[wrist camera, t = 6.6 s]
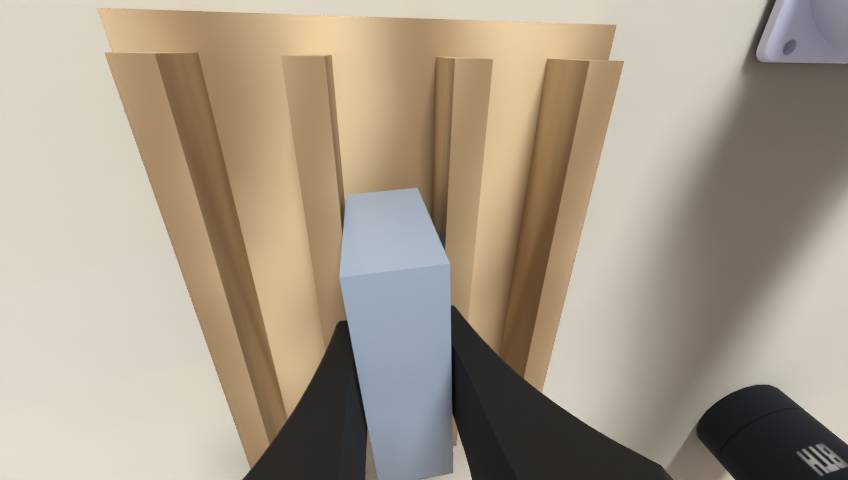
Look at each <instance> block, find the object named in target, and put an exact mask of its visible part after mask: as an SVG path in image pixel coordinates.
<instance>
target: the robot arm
mask: <svg viewBox="0 0 848 480" xmlns="http://www.w3.org/2000/svg"><path fill="white" fill-rule="evenodd" d="M784 46H785V48H784ZM783 48H784V50H783ZM756 55H757V59H758V60H759V61H761V62H786V63H843V64H848V0H776V2H775V4H774V7H773V9H772V12H771V14H770V17H769V19H768V22H767V24H766V27H765V29H764V32H763V35H762V37H761V40H760V42H759V45H758V47H757V51H756ZM451 363H452V414H453V417H454V420H455V423H456V426H457V429H458V432H459V435H460V438H461V442H462V445H463V448H464V451H465V454H466V458H467V461H468V465H469V468H470V473H471V477H472V480H673V479H672V478H671V477H670V476H669V475H668V473H667V472H666V471H665V470H664V468H663V467H662V466H661V465H659V464H657V463H655V462H653V461H652V460H650V459H648V458H646V457H644V456H642V455H640V454H638V453H636V452H634V451H632V450H631V449H629V448H627V447H625V446H623V445H621V444H619V443H617V442H615V441H614V440H612V439H610V438H608V437H607V436H605V435H603V434H602V433H600V432H598V431H597V430H595V429H593V428H592V427H590V426H588V425H587V424H585V423H584V422H582V421H581V420H579V419H578V418H576V417H575V416H573V415H572V414H570V413H569V412H567V411H566V410H564V409H563V408H561V407H560V406H558V405H557V404H556V403H554V402H553V401H552V400H550V399H549V398H548V397H546V396H545V395H544V394H542V393H541V392H540V391H538V390H537V389H536V388H535V387H533V386H532V385H531V384H530V383H528V382H527V381H526V380H525V379H524V378H522V377H521V376H520V375H519V374H518V373H517V372H516V371H514V370H513V369H512V368H511V367H510V366H509V365H508V364H507V363H506V362H505V361H504V360H503V359H502V358H501V357H500V356H499V355H498V354H497V353H495V352H494V350H493V349H492V348H491V347H490V346H489V345H488V344H487V343H486V342H485V341H484V340H483V339H482V338H481V337H480V336H479V335H478V333H477V332H476V331H475V330H474V329H473V328H472V327H471V325H470V324H469V323H468V322H467V321H466V319H465V318H464V317H463V316H462V314H461V313H460V312H459V310H458V309H457V308H456V307H455V306H454V305H451ZM366 443H367V421H366V416H365V411H364V405H363V400H362V395H361V390H360V384H359V379H358V374H357V369H356V363H355V358H354V353H353V347H352V342H351V337H350V332H349V326H348V321H347V320H344V321H339V322H338V323H337V324H336V327H335V330H334V333H333V335H332V338H331V340H330V343H329V345H328V347H327V349H326V352H325V354H324V356H323V358H322V360H321V362H320V364H319V366H318V368H317V370H316V372H315V374H314V376H313V378H312V380H311V381H310V383H309V385H308V387H307V388H306V390H305V392H304V394H303V395H302V397H301V399H300V400H299V402H298V404H297V405H296V407H295V409H294V410H293V412H292V413H291V415H290V416H289V418H288V420H287V421H286V423H285V424H284V425H283V427H282V428H281V430H280V431H279V433H278V434H277V436H276V437H275V438H274V440H273V441H272V442H271V444H270V445H269V446H268V448H267V449H266V450H265V452H264V453H263V455H262V456H261V457H260V459H259V460H258V461H257V462H256V464H255V465H254V466H253V467H252V469H251V470H250V471H249V472H248V474H247V475H246V476H245V477H244V479H243V480H365V464H366Z"/></svg>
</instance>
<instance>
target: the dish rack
mask: <svg viewBox="0 0 848 480" xmlns="http://www.w3.org/2000/svg"><path fill="white" fill-rule="evenodd" d="M97 10H98V13H99V15H100V18H101V21H102V24H103V27H104V30H105V33H106V36H107V39H108V42H109V45H110V48H111V50H112V53H105V55H106V58H107V61H108V64H109V67H110V70H111V73H112V75H113V78H114V81H115V84H116V87H117V90H118V92H119V95H120V98H121V101H122V104H123V107H124V110H125V112H126V115H127V118H128V121H129V124H130V127H131V129H132V132H133V135H134V138H135V141H136V144H137V147H138V149H139V152H140V155H141V158H142V161H143V164H144V166H145V169H146V172H147V175H148V178H149V181H150V184H151V186H152V189H153V192H154V195H155V198H156V201H157V203H158V206H159V209H160V212H161V215H162V218H163V221H164V223H165V226H166V229H167V232H168V235H169V238H170V240H171V243H172V246H173V249H174V252H175V255H176V257H177V260H178V263H179V266H180V269H181V272H182V275H183V277H184V280H185V283H186V286H187V289H188V292H189V294H190V297H191V300H192V303H193V306H194V309H195V312H196V314H197V317H198V320H199V323H200V326H201V329H202V331H203V334H204V337H205V340H206V343H207V346H208V349H209V351H210V354H211V357H212V360H213V363H214V366H215V368H216V371H217V374H218V377H219V380H220V383H221V386H222V388H223V391H224V394H225V397H226V400H227V403H228V405H229V408H230V411H231V414H232V417H233V420H234V423H235V425H236V428H237V431H238V434H239V437H240V440H241V442H242V445H243V448H244V451H245V454H246V457H247V460H248V462H249V465H250V468H251V469H252V467H253V466H254V465H255V464H256V462H257V461H258V460H259V459H260V457H261V456H262V455H263V453H264V452H265V450H266V449H267V448H268V446H269V445H270V444H271V442H272V441H273V440H274V438H275V437H276V436H277V434H278V433H279V431H280V430H281V428H282V427H283V425H284V424H285V423H286V421H287V420H288V418H289V416H290V415H291V413H292V412H293V410H294V409H295V407H296V405H297V404H298V402H299V400H300V399H301V397H302V395H303V394H304V392H305V390H306V388H307V387H308V385H309V383H310V381H311V380H312V378H313V376H314V374H315V372H316V370H317V368H318V366H319V364H320V362H321V360H322V358H323V356H324V354H325V352H326V349H327V347H328V345H329V343H330V340H331V338H332V335H333V333H334V330H335V327H336V324H337V323H338V322H339V321H344V320H347V316H346V311H345V305H344V300H343V295H342V290H341V284H340V279H339V274H340V262H341V251H342V239H343V227H344V215H345V204H346V195H349V194H359V193H369V192H379V191H389V190H399V189H409V188H418V190H419V192H420V195H421V197H422V199H423V202H424V204H425V206H426V209H427V211H428V213H429V216H430V218H431V220H432V223H433V225H434V227H435V230H436V232H437V234H438V237H439V239H440V241H441V244H442V246H443V248H444V251H445V253H446V255H447V258H448V260H449V262H450V296H451V305H454V306H455V307H456V308H457V309H458V310H459V312H460V313H461V314H462V316H463V317H464V318H465V319H466V321H467V322H468V323H469V324H470V325H471V327H472V328H473V329H474V330H475V331H476V332H477V333H478V335H479V336H480V337H481V338H482V339H483V340H484V341H485V342H486V343H487V344H488V345H489V346H490V347H491V348H492V349H493V350H494V352H495V353H497V354H498V355H499V356H500V357H501V358H502V359H503V360H504V361H505V362H506V363H507V364H508V365H509V366H510V367H511V368H512V369H513V370H514V371H516V372H517V373H518V374H519V375H520V376H521V377H522V378H524V379H525V380H526V381H527V382H528V383H530V384H531V385H532V386H533V387H535V388H536V389H537V390H538V391H540V392H541V393H542V390H543V386H544V382H545V378H546V374H547V370H548V366H549V362H550V358H551V354H552V349H553V345H554V341H555V337H556V333H557V329H558V325H559V321H560V317H561V313H562V309H563V305H564V301H565V297H566V293H567V289H568V285H569V281H570V277H571V273H572V269H573V265H574V261H575V257H576V253H577V249H578V245H579V240H580V236H581V232H582V228H583V224H584V220H585V216H586V212H587V208H588V204H589V200H590V196H591V192H592V188H593V184H594V180H595V176H596V172H597V168H598V164H599V160H600V156H601V152H602V148H603V144H604V140H605V135H606V131H607V127H608V123H609V119H610V115H611V111H612V107H613V103H614V99H615V95H616V91H617V87H618V83H619V79H620V75H621V71H622V67H623V63H624V61H608V59H609V55H610V51H611V46H612V42H613V38H614V33H615V29H616V25H598V24H567V23H537V22H506V21H476V20H446V19H415V18H385V17H354V16H324V15H294V14H263V13H233V12H202V11H172V10H142V9H111V8H97ZM452 431H453V446H456V442H457V431H458V429H457V426H456V423H455V420H454V417H453V414H452Z"/></svg>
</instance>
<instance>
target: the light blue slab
mask: <svg viewBox="0 0 848 480" xmlns="http://www.w3.org/2000/svg"><path fill="white" fill-rule="evenodd" d="M339 279H340V284H341V290H342V295H343V300H344V305H345V311H346V316H347V321H348V326H349V332H350V337H351V342H352V347H353V353H354V358H355V363H356V369H357V374H358V379H359V384H360V390H361V395H362V400H363V405H364V411H365V416H366V421H367V426H368V432H369V437H370V442H371V447H372V453H373V458H374V463H375V469H376V474H377V479H378V480H420V479H425V478H430V477H435V476H440V475H445V474H450V473H453V431H452V363H451V296H450V262H449V260H448V258H447V255H446V253H445V251H444V248H443V246H442V244H441V241H440V239H439V237H438V234H437V232H436V230H435V227H434V225H433V223H432V220H431V218H430V216H429V213H428V211H427V209H426V206H425V204H424V202H423V199H422V197H421V195H420V192H419V190H418V188H409V189H399V190H389V191H379V192H369V193H359V194H349V195H346V204H345V215H344V227H343V239H342V251H341V262H340V274H339Z"/></svg>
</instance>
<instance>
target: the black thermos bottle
mask: <svg viewBox="0 0 848 480" xmlns="http://www.w3.org/2000/svg"><path fill="white" fill-rule="evenodd" d="M697 433H698V438H699V439H700V440H701V441H702V442H703V444H704V445H705V446H706V447H707V448H708V449H709V450H710V452H711V453H712V454H713V455H714V456H715V457H716V458H717V460H718V461H719V462H720V463H721V464H722V465H723V466H724V468H725V469H726V470H727V471H728V472H729V473H730V474H731V476H732V477H733V478H734V479H735V480H848V445H847V444H846V443H845V442H843V441H842V440H841V439H840V438H838V437H837V436H836V435H835V434H833V433H832V432H831V431H830V430H828V429H827V428H826V427H825V426H824V425H822V424H821V423H820V422H819V421H817V420H816V419H815V418H814V417H812V416H811V415H810V414H809V413H808V412H806V411H805V410H804V409H803V408H801V407H800V406H799V405H798V404H796V403H795V402H794V401H793V400H791V399H790V398H789V397H788V396H787V395H785V394H784V393H783V392H782V391H780V390H779V389H778V388H776V387H773V386H770V385H756V386H752V387H748V388H744V389H741V390H739V391H737V392H735V393H732V394H730V395H729V396H727V397H725V398H724V399H722V400H721V401H719V402H718V403H716V404H715V405H714V406H713V407H712V408H711V409H710V410H709V411H707V413H706V414H705V415H704V417H703V418H702V419H701V421H700V423H699V426H698V428H697Z"/></svg>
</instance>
